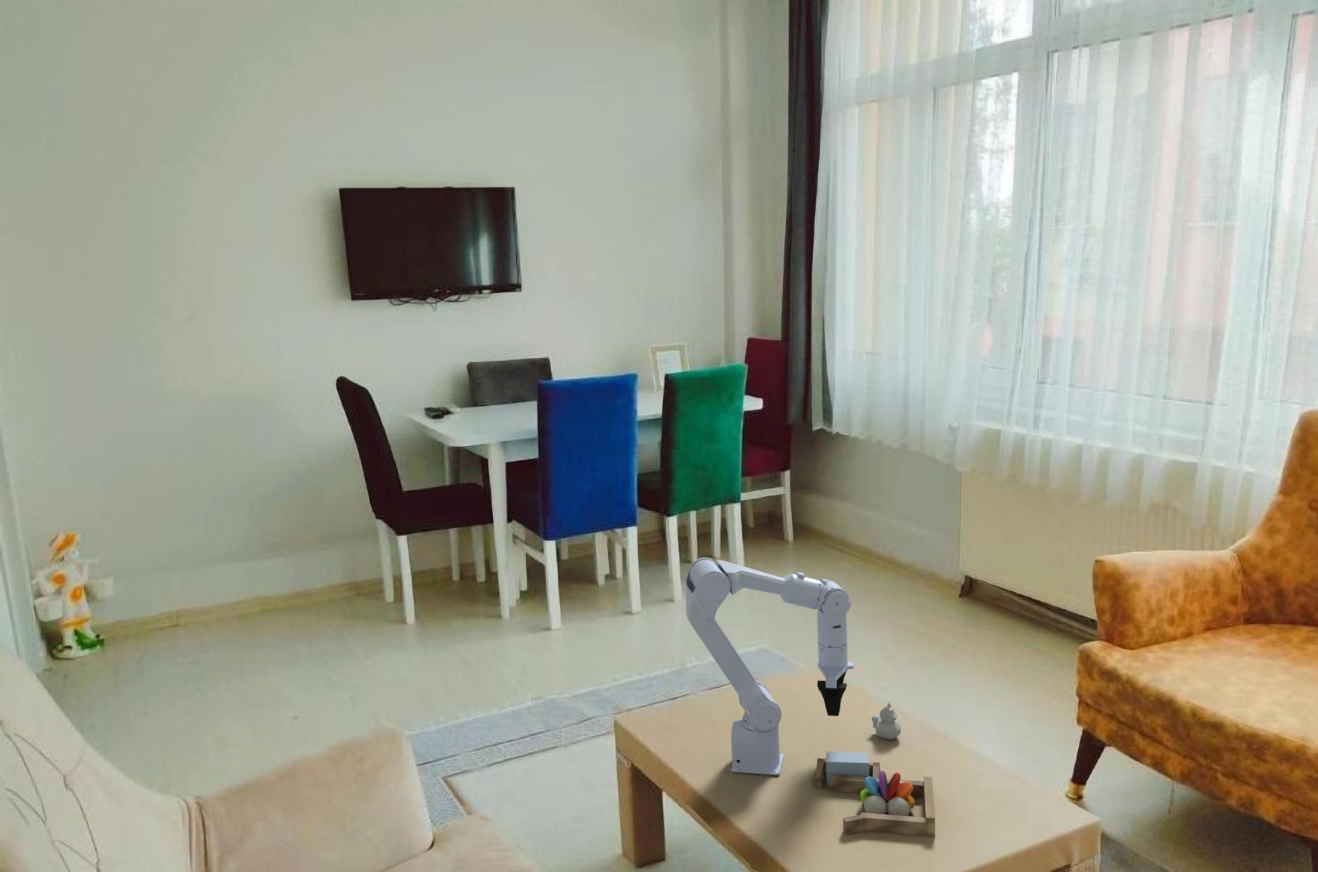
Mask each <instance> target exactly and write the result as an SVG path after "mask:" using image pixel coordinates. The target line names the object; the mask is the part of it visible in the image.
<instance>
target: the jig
mask: <svg viewBox="0 0 1318 872" xmlns="http://www.w3.org/2000/svg"><path fill="white" fill-rule="evenodd" d="M815 767H816V769H815V774H814V788H815V789H822V787H823V779H824V772H826V758H821V757H817V759H816V766H815ZM880 771H881V762H880V761H869V775H872V777H873V778H875V779H876V780H879V772H880ZM865 778H866V777H857V776H844V775H831V777H830V785H829V787H830V788H829V789H830V791H831V792H840V793H842V792H843V793H852V794H853V793H854V794H860V793H861V791H862V790H864V789H865V786H866V785H865ZM890 780H891V778H887V783H889V782H890ZM900 782H903V783H904V782H908V783H911V784H912V786H913V791H912V793H911V797H912V798H919V799H923V803H924V804H923V805H924V817H921V816H910V815H908V816H898V815H890V814H886V813H885V814H874V813H867V812H860V814H857V815H852V816H846V817H843V818H842V825H843V826H842V828H843V829H842V831H843V832H844V834H845V835H852V834H857V833H864V832H865V831H866V832H877V833H888V834H899V835H901V834H902V835H912V836H923V837H925V836H926V837H933V838H934V837H936V813H935V798H934V796H935V795H934V785H933V777H932V776H923V780H912V779H911V780H909V779H900Z"/></svg>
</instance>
